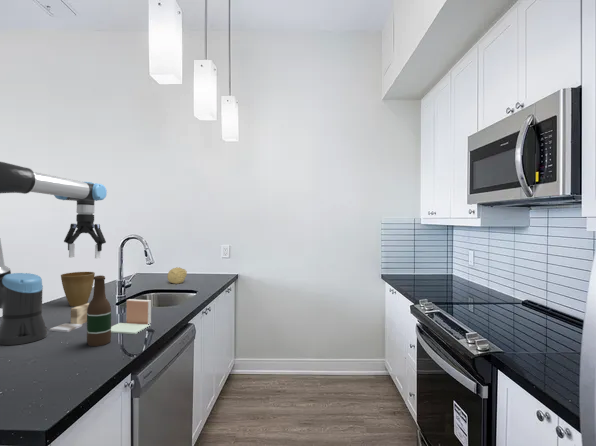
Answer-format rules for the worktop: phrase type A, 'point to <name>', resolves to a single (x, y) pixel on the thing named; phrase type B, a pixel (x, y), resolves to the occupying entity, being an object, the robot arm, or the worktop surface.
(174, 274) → the beige lumpy ball
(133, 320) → the tile
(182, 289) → the worktop surface
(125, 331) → the mat
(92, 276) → the plant pot
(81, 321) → the turner
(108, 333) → the beer bottle
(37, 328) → the robot arm
